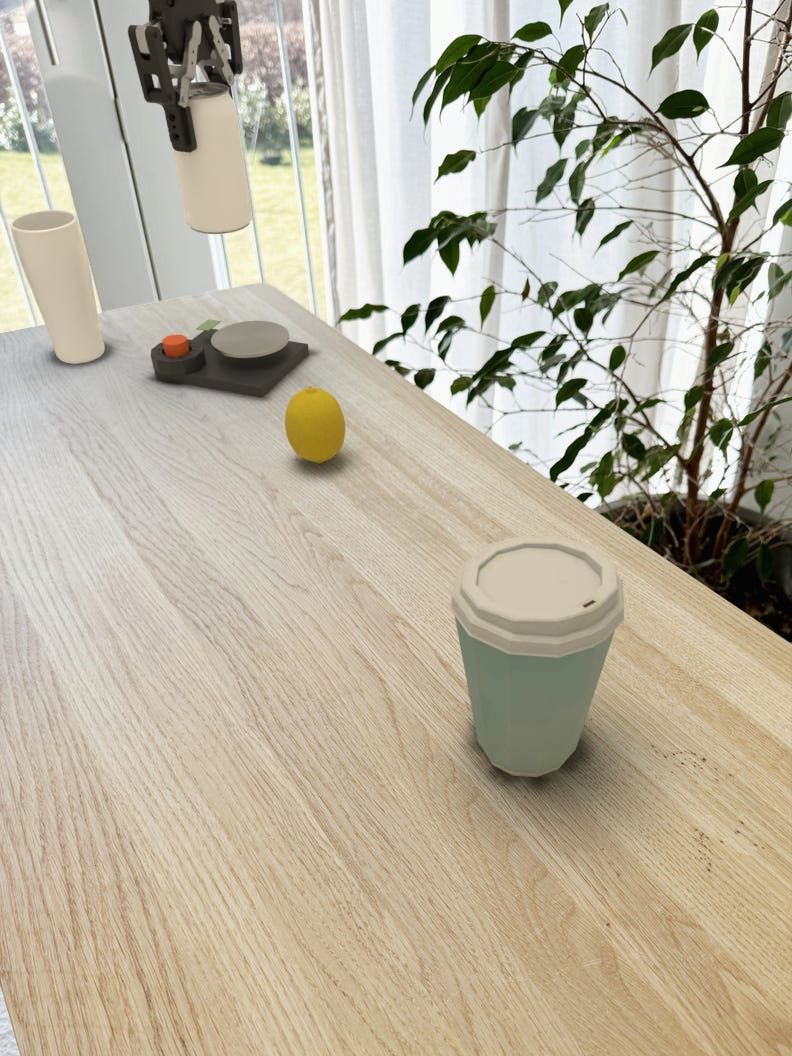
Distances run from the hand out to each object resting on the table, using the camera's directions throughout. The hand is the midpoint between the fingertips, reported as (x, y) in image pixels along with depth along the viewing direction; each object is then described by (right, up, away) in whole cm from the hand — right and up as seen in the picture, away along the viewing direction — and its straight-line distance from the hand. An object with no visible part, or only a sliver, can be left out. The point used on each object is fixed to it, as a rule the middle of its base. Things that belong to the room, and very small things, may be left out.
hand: (205, 139), depth 95 cm
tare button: (-7, -16, +14) cm, 22 cm away
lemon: (+10, -30, +2) cm, 32 cm away
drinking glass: (-19, -15, +20) cm, 31 cm away
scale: (-2, -17, +17) cm, 24 cm away
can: (0, -6, +5) cm, 8 cm away
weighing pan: (-1, -14, +16) cm, 21 cm away
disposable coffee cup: (+29, -54, -25) cm, 67 cm away
